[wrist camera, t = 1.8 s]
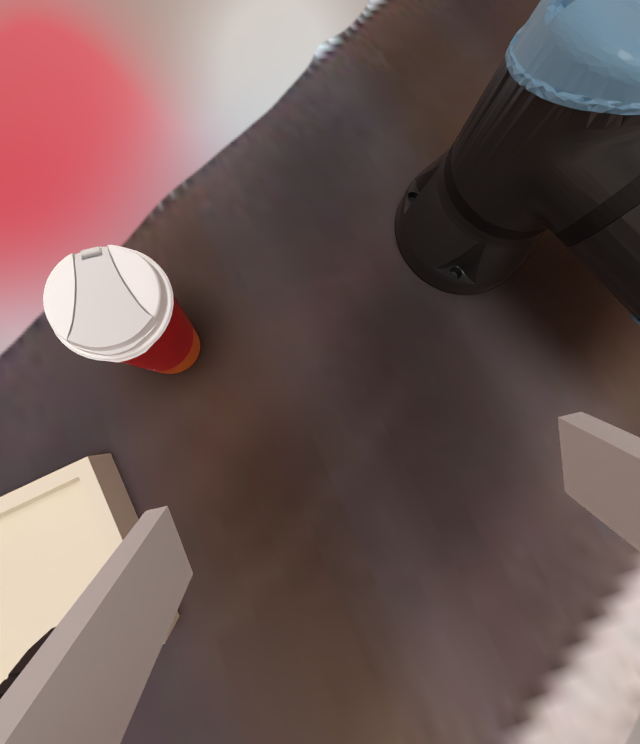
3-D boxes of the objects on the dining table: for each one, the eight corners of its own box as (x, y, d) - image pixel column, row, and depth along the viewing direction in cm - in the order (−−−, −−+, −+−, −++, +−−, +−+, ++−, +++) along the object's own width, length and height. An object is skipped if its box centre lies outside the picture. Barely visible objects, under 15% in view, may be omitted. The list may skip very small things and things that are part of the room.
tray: (110, 453, 33) (87, 456, 29) (179, 615, 32) (165, 642, 28) (-72, 538, 31) (-124, 554, 27) (-6, 720, 29) (-51, 765, 25)
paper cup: (123, 321, 35) (21, 253, 21) (199, 301, 36) (149, 224, 23) (143, 396, 34) (49, 375, 21) (221, 372, 35) (182, 338, 22)
